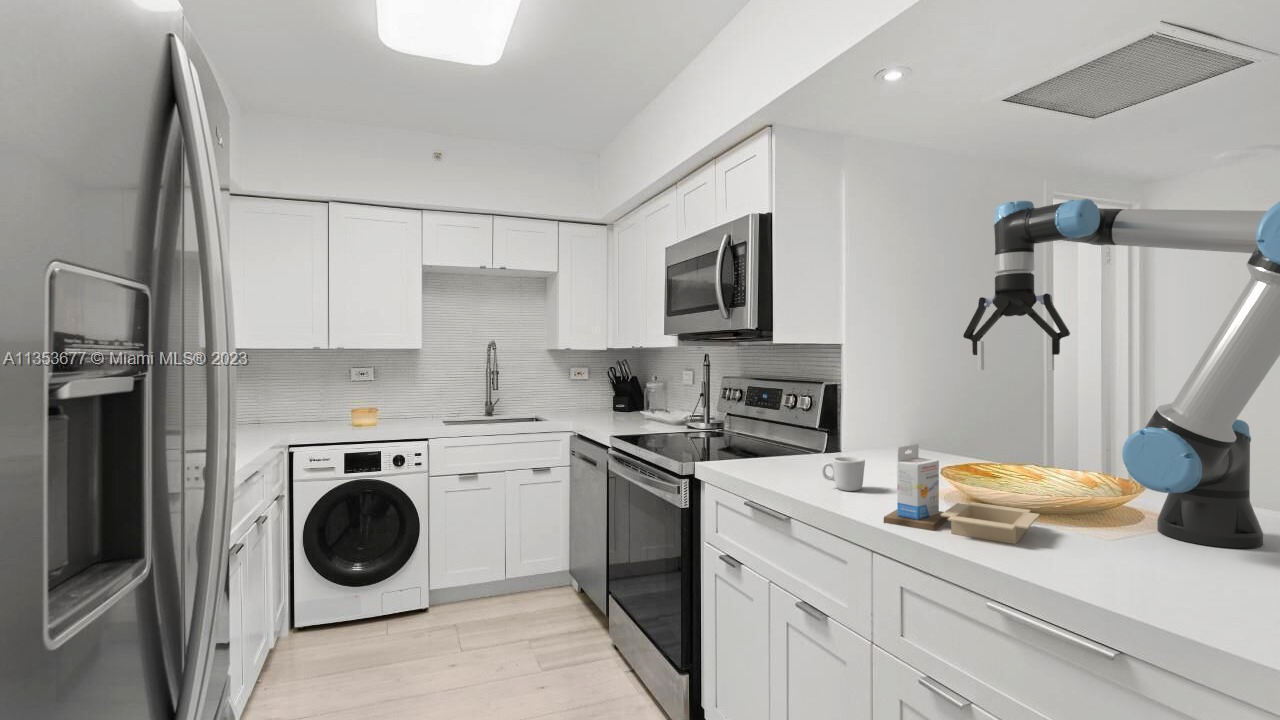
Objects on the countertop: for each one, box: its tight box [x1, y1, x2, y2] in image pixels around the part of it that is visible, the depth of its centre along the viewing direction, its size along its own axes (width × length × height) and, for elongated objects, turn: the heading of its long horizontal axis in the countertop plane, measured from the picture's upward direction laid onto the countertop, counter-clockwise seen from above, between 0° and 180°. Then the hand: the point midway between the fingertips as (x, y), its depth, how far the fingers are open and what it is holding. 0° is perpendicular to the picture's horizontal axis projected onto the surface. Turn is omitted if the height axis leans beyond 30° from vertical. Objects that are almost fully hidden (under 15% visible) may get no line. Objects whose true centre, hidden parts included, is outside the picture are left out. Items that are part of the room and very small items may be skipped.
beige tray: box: [941, 501, 1041, 545], centre depth 129 cm, size 15×17×4 cm
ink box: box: [896, 443, 940, 520], centre depth 138 cm, size 8×5×15 cm, turn 127°
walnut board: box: [883, 509, 949, 531], centre depth 138 cm, size 10×12×1 cm
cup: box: [821, 456, 866, 492], centre depth 169 cm, size 11×8×8 cm
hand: (1014, 370), depth 142 cm, fingers open, 13 cm apart
